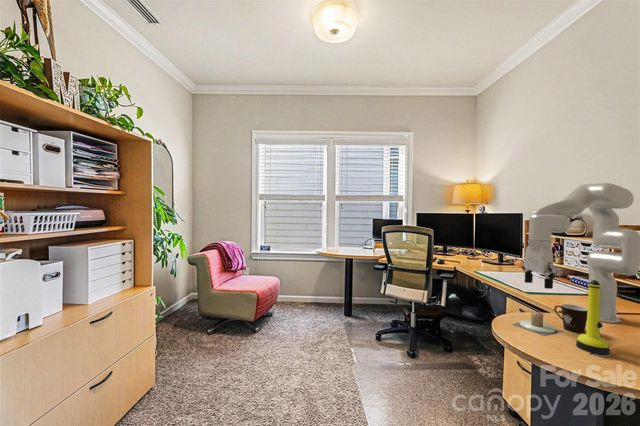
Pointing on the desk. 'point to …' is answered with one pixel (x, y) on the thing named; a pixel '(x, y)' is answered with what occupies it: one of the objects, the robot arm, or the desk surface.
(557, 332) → the mat
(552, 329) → the lid
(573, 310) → the coffee mug
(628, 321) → the desk surface
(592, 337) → the flashlight
